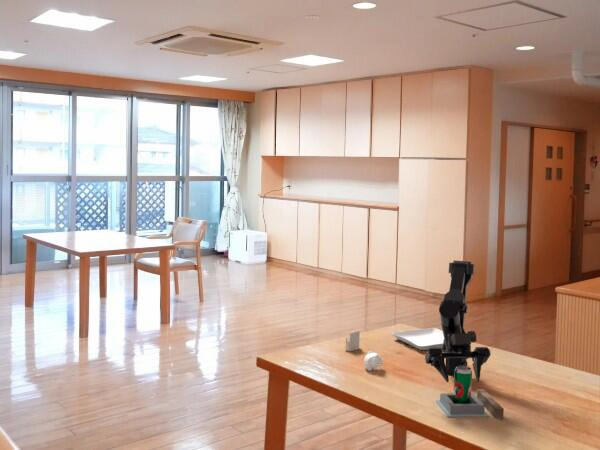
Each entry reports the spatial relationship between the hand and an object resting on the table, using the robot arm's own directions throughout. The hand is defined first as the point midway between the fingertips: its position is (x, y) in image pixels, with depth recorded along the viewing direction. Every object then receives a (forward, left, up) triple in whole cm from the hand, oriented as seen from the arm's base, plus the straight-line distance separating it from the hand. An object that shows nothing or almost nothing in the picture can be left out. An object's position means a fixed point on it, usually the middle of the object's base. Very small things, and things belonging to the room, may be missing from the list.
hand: (463, 381), depth 194 cm
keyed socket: (0, 0, -8) cm, 8 cm away
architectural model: (-62, +22, -9) cm, 66 cm away
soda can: (0, 0, -8) cm, 8 cm away
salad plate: (-47, +51, -9) cm, 70 cm away
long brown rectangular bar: (+5, +6, -8) cm, 12 cm away
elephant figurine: (-41, +9, -9) cm, 43 cm away
